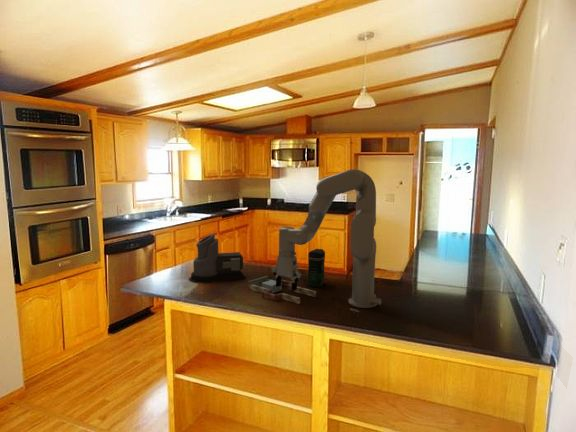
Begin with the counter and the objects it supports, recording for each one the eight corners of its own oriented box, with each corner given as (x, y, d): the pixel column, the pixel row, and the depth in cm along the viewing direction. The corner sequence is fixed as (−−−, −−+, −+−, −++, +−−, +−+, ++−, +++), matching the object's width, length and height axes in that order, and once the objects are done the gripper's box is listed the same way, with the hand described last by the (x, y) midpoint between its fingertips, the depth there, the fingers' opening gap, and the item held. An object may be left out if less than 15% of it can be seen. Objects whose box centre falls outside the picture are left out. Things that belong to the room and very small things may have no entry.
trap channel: (321, 294, 184) (321, 286, 183) (292, 306, 168) (292, 297, 167) (271, 281, 204) (271, 274, 204) (242, 291, 188) (242, 283, 187)
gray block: (281, 290, 190) (281, 282, 190) (272, 293, 185) (272, 285, 184) (271, 287, 195) (271, 279, 194) (261, 290, 189) (261, 282, 189)
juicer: (189, 284, 198) (188, 237, 195) (188, 275, 214) (187, 232, 211) (246, 280, 207) (246, 235, 204) (241, 272, 222) (241, 230, 219)
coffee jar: (320, 288, 194) (321, 252, 191) (305, 286, 197) (306, 250, 195) (326, 283, 202) (327, 248, 200) (312, 281, 206) (312, 247, 203)
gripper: (306, 254, 179) (305, 290, 181) (278, 249, 190) (277, 282, 192) (296, 257, 173) (295, 294, 175) (267, 251, 184) (267, 286, 186)
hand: (286, 288), depth 183 cm, fingers open, 9 cm apart
